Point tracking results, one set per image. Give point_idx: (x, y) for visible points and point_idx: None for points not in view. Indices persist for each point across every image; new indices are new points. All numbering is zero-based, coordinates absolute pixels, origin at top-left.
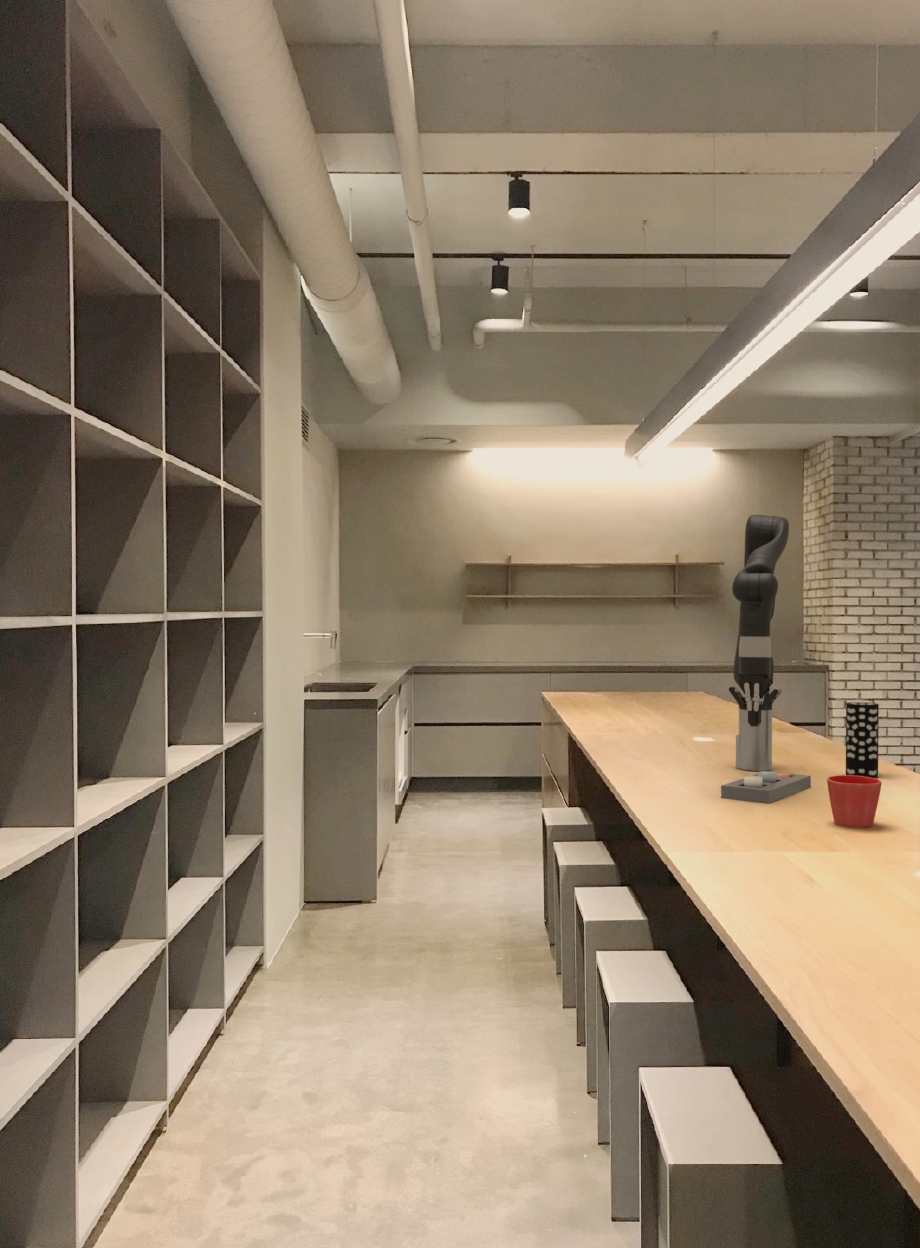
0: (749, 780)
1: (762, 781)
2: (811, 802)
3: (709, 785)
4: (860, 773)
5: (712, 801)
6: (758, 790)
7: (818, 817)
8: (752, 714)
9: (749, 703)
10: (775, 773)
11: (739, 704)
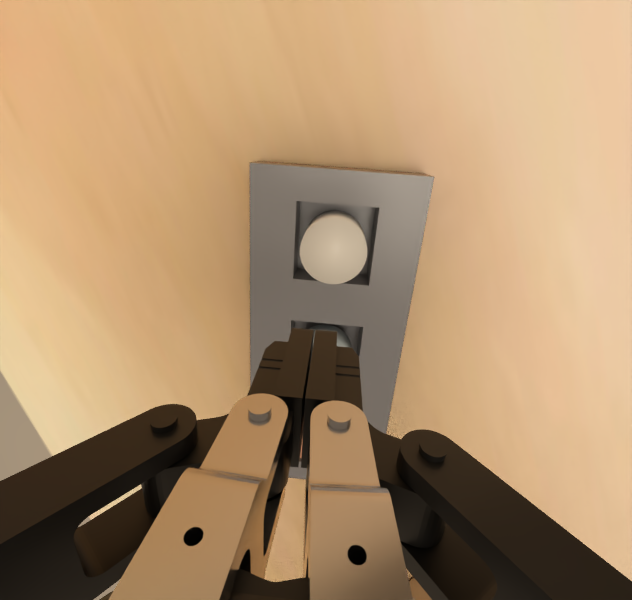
0: (336, 217)
1: (330, 330)
2: (172, 257)
3: (506, 360)
4: None
5: (436, 85)
6: (289, 165)
7: (41, 7)
8: (310, 380)
9: (337, 466)
10: None
11: (474, 465)
